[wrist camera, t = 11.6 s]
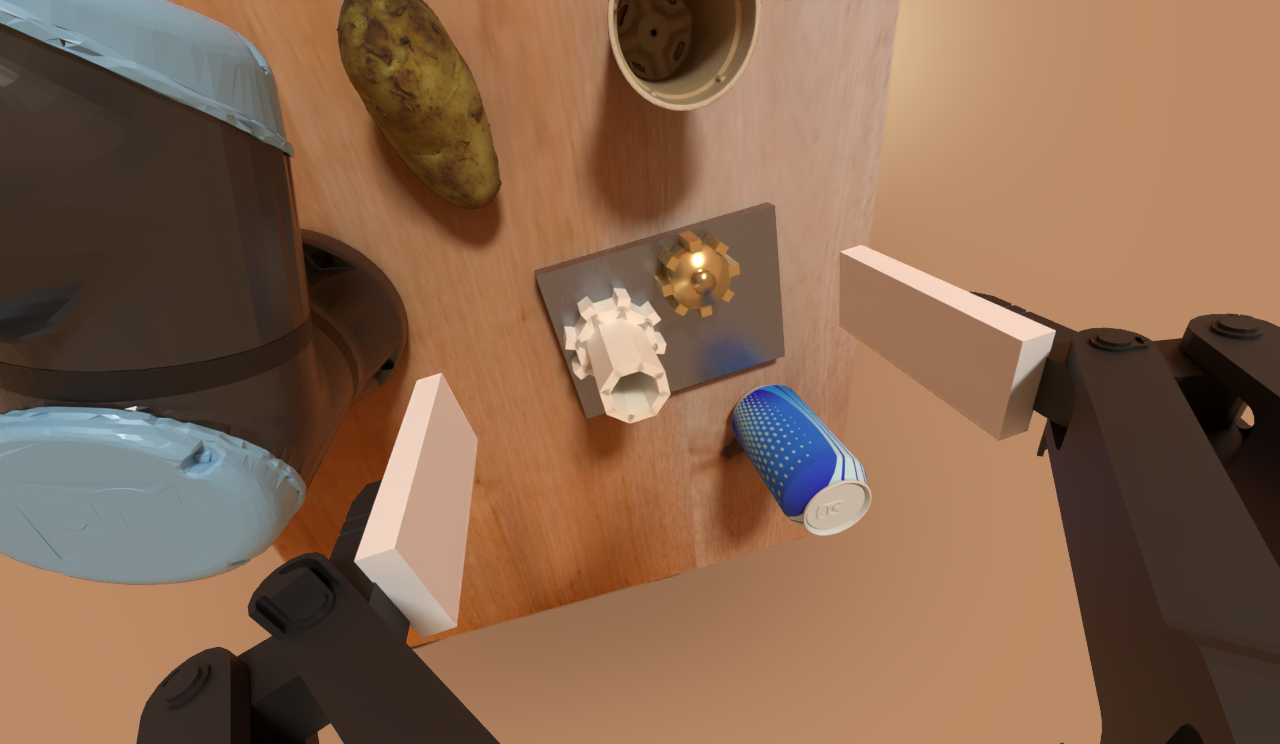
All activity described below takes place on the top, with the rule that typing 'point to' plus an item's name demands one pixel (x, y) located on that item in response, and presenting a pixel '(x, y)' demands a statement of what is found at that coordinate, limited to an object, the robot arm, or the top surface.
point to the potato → (421, 96)
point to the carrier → (684, 296)
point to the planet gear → (620, 355)
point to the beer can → (801, 460)
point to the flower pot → (713, 47)
